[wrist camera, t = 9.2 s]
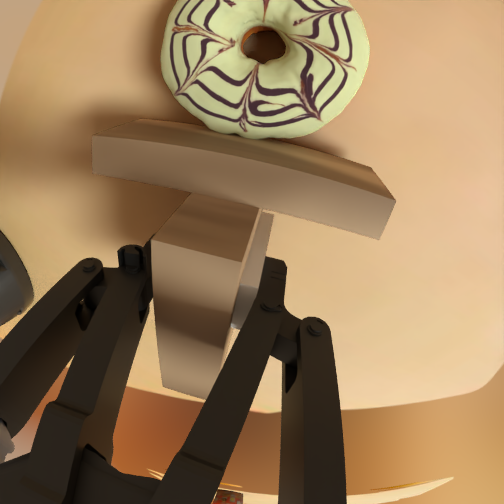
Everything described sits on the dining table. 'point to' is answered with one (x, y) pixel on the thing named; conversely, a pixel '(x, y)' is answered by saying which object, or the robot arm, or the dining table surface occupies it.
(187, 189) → the pusher
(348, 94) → the decorated donut
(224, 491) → the food container
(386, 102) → the dining table surface
